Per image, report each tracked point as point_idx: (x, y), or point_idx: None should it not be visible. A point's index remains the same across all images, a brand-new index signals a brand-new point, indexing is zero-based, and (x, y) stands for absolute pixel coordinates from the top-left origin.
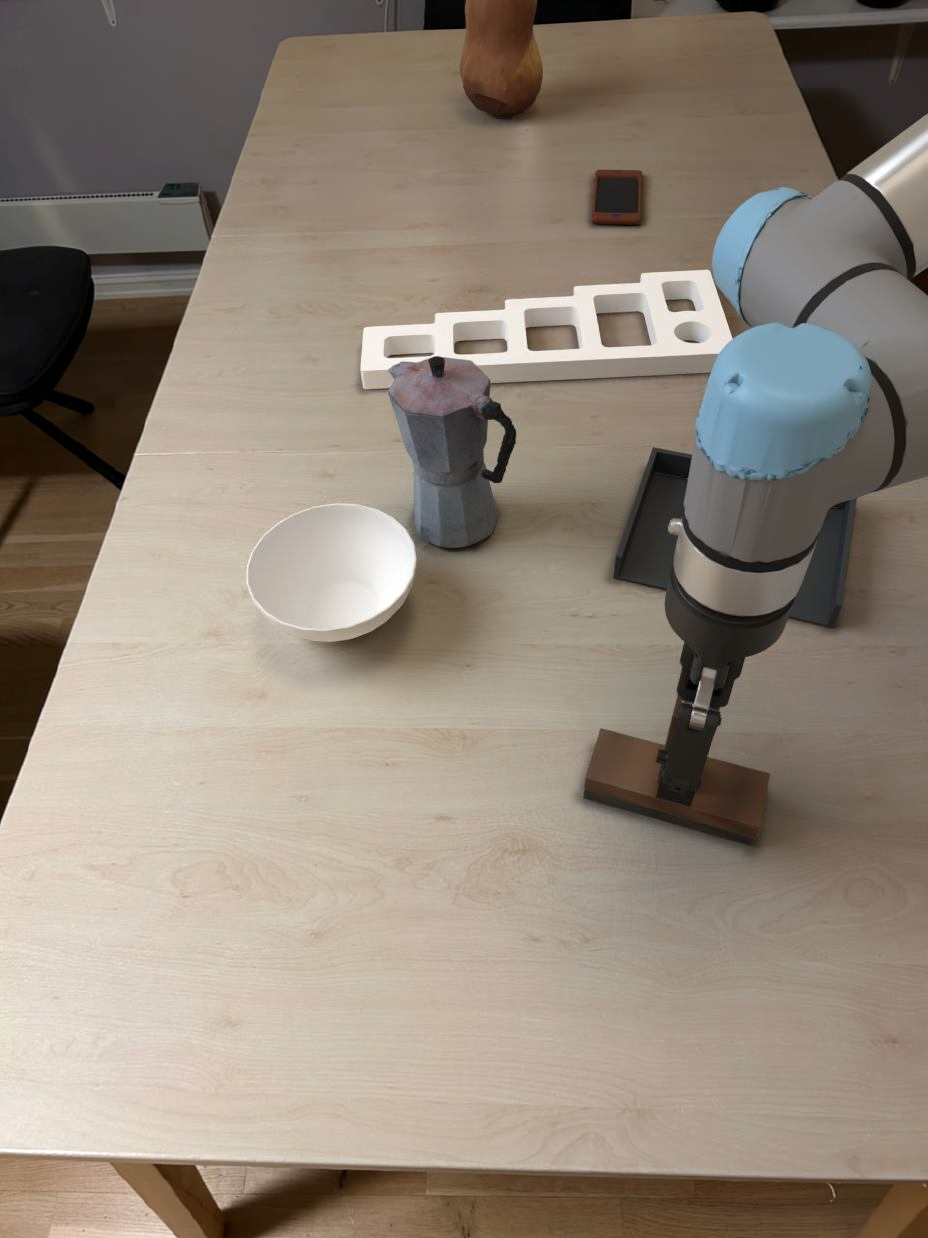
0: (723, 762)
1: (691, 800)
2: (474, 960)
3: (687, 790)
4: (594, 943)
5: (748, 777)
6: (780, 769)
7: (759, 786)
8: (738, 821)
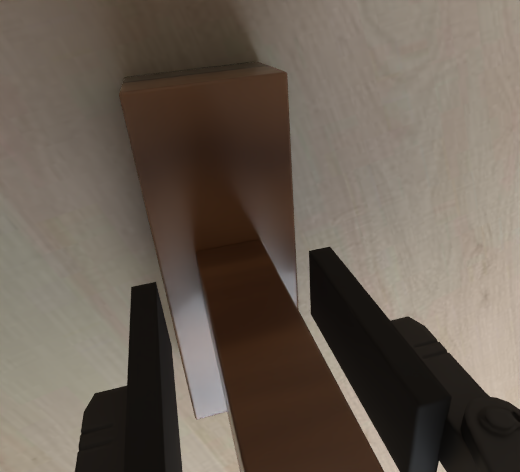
0: (151, 210)
1: (342, 264)
2: (515, 334)
3: (434, 338)
4: (481, 236)
5: (161, 142)
6: (26, 49)
7: (174, 109)
8: (289, 127)
